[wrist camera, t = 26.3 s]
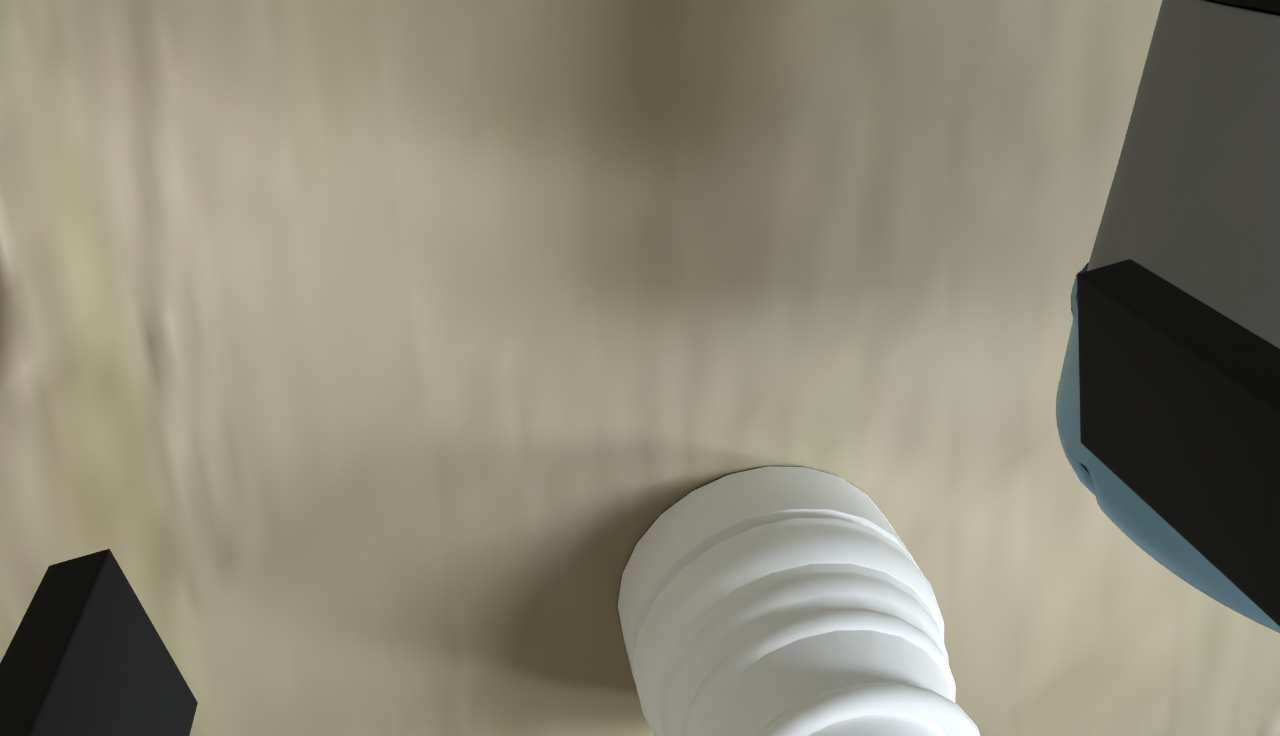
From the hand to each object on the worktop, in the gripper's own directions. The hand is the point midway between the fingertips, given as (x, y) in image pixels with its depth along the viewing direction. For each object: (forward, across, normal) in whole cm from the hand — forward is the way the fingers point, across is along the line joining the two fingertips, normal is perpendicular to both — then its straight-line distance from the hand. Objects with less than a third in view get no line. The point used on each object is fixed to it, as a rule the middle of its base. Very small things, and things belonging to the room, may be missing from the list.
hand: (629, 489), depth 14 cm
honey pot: (+25, -5, +24) cm, 35 cm away
